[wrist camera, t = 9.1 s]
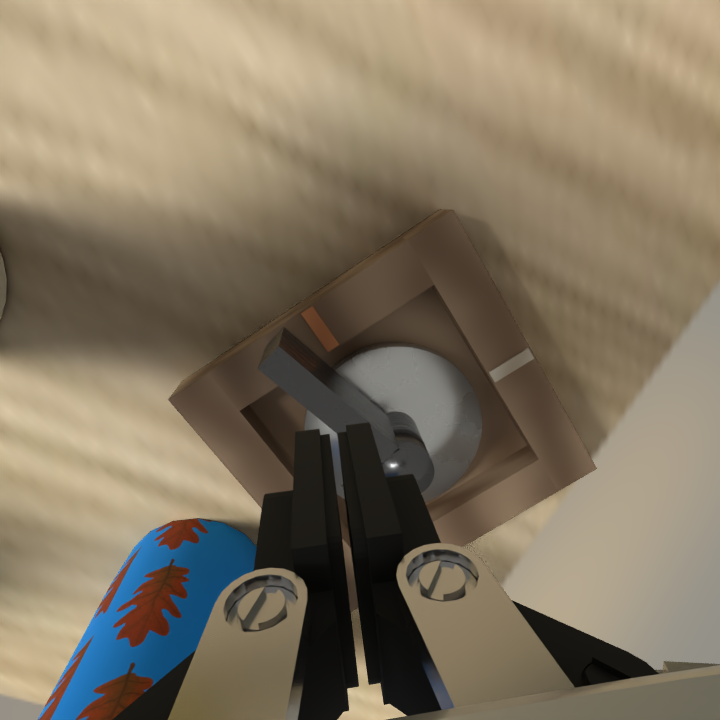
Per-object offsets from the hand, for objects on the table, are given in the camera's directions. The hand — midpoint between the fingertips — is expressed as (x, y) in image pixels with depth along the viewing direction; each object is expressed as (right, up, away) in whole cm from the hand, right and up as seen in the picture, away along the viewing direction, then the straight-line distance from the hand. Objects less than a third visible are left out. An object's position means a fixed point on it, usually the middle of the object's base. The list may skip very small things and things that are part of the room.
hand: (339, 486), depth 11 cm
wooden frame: (+3, -1, +24) cm, 24 cm away
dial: (+1, 0, +22) cm, 22 cm away
